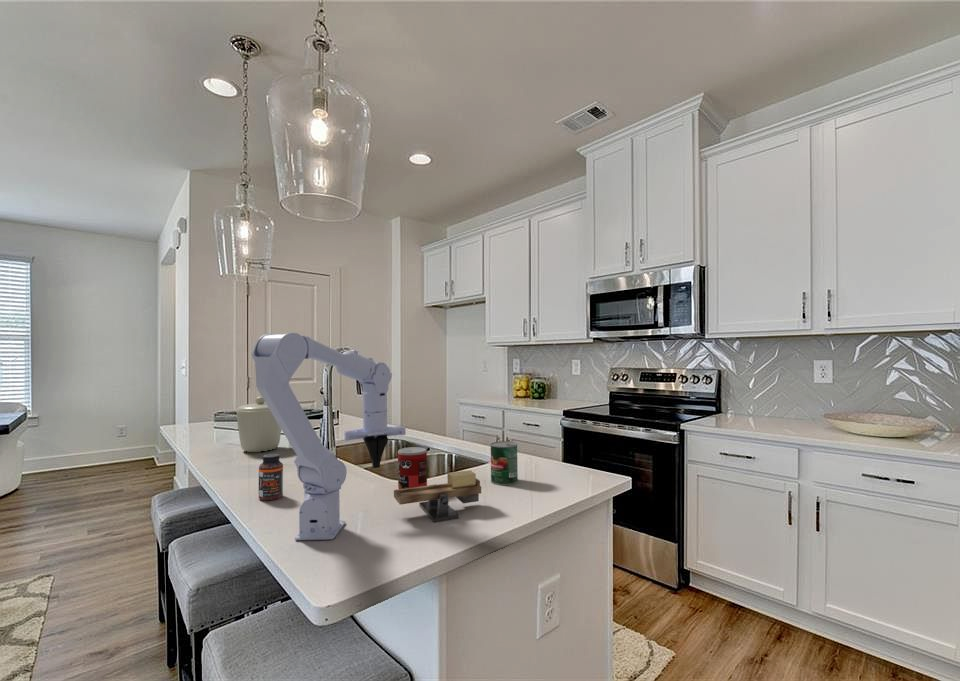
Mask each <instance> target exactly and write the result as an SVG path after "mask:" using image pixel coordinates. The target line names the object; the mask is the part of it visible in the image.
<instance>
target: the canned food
mask: <svg viewBox="0 0 960 681" xmlns="http://www.w3.org/2000/svg"><path fill="white" fill-rule="evenodd" d="M427 452H428V451H427V449H426V447H421V446H420V447H418V446H409V447H403V448H399V449H398V451H397V488H398V489H406V488H414V487H422V486H428V453H427Z"/></svg>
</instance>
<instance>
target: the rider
mask: <svg viewBox="0 0 960 681" xmlns="http://www.w3.org/2000/svg"><path fill="white" fill-rule="evenodd" d="M476 479H477V476H476V473H475V472H474V471H472V470H469V469H468V470H460V471H454V472H453V471H452V472H447V483H448V488H449V489H450V490H451V489H459V488H467V487H474V486H476Z"/></svg>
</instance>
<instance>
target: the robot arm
mask: <svg viewBox="0 0 960 681" xmlns="http://www.w3.org/2000/svg"><path fill="white" fill-rule="evenodd" d="M251 357H252V359H253V361H254V367H255V385H256V389H257V390H258V393H259V394H260V395H261V396H260V397H263V399H264V401H265V402H264V403H266V404H267V406H268V407H269V409H270V411H271V413H272V414H273V416H274V418H275V419H276V421H277V423H278V424H279V426H280V428H281V432H282V433H283V434H284V436H285V438H286V440H287V441H288V443H289V445H290V446H291V449H292V450H293V451H294V452H295V455H296V457H295V459H294V461H293V462H294V464H295V466H296V469H297V477H298V479H299V481H300V482H301V483H302V484H303V485H302V486H303V487H302V488H303V489H304V493H303V494H304V498H303V499H304V500H303V502H302V503H301V505H300V507H299V512H298V513H299V514H298V515H299V516H298V517H299V518H298V519H299V521H298V524H299V525H298V526H299V530H298V531H299V532H298V534H297V535H296V536H295V537H294V540H295V541H318V540H321V541H323V540H324V541H325V540H326V541H327V540H334V539H335V538H336V536H337V535H338V534H339V532H340V531H341V529H342V528H343V527H344V525H345V524H346V520H344V519H343V520H342V519H340V517H341V516H340V514H341V512H340V509H341V508H340V505H341V504H340V503H341V502H340V490H341V489H342V486H343V485H344V483H345V481H346V478H347V473H348V472H347V467H346V465H345V463H344V462H343V461H341V460H339V459H338V458H337V457H336V455H335V453H333V452H332V450H330V449H329V448H327V447H326V446H325V445H323V443H322V442H321V440H320V438H319V436H318V435H317V432H316V430H315V429H314V427H313V425H312V423H311V422H310V420H309V418H308V415H306V413H305V411H304V409H303V407H302V405H301V404H300V402H299V401H298V399H297V396H296V395H295V393H294V392H293V389H292V388H291V386H290V381H291V378H292V377H293V376H294V374H295V373H296V371H297V370H298V368H299V367H300V366H301V365H302V363H303V361H304V360H309V359H311V360H314V361H317V362H320V363H322V364H323V363H324V364H327V365H329V366H332V367H335V368H336V372H337V373H338V374H339V375H341V376H344V377H347V378H350V379H353V380H355V381H358V383H359V384H360V385H362V418H363V419H362V421H363V422H362V423H363V426H362V427H363V428H359V429H353V430H345V431H344V432H343V435H344V436H343V437H344V438H343V439H344V441H347V442H348V441H351V440H361V439H362V440H363V443H365V446H366V448H367V450H368V452H369V456H370V461H371V465H372V468H373V469H379V468H381V467H380V466H381V461H382V457H383V454H384V451H385V448H386V447H387V445H388V442H389V438H388V437H392V436H406V434H407V433H406V427H405V426H404V425H399V426H397V425H396V426H388V394H387V393H388V390H389V384H390V382H391V380H392V376H393V373H392V372H391V370H390V368H389V365H387V364H386V363H385V362H376V361H374V358H372V357H366V356H363V355H361V354H359V351H358V350H356V349H351V350H346V351H344V352H340V351H338V350H336V349H334V348H331V347H329V346H327V345H326V344H324V343H320V342H319V341H317V340H315V339H312V338H311V337H309V336H306V335H301V334H299V333H297V332H290V333H289V332H287V333H278V334H274V333H266V334H262V335H261V336H260V337H259V338H258V339H257V340H256V343H255V345H254V347H253V350H252V352H251Z"/></svg>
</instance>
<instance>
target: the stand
mask: <svg viewBox="0 0 960 681" xmlns="http://www.w3.org/2000/svg"><path fill="white" fill-rule="evenodd" d="M430 485H431V484H429V485H428V484H427V486H430ZM434 485H437V484H434ZM418 505H419V508H420V509H421V510H422V511H423V512H424V513H425V514H426V515H427V517H428V518H429V519H430V520H431V521H432V522H433V523H439V522H445V521H450V520H455V519H456V520H457V519H459V516H460V514H458V512H457V511H455V509H453V508H452V506H450V505H449V498H448V494H447V493H446V494H439V495H438V499H437V500H429V501H422V502H418Z"/></svg>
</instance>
